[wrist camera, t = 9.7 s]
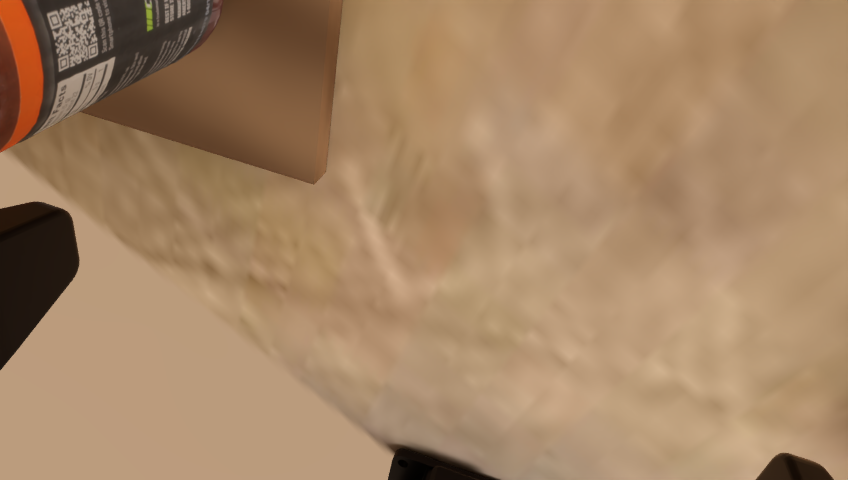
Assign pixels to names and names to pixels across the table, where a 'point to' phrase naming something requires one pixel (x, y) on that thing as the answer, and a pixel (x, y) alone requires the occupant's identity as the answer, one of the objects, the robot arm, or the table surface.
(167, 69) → the walnut base
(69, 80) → the supplement bottle
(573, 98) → the table surface
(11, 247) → the robot arm
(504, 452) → the table surface
